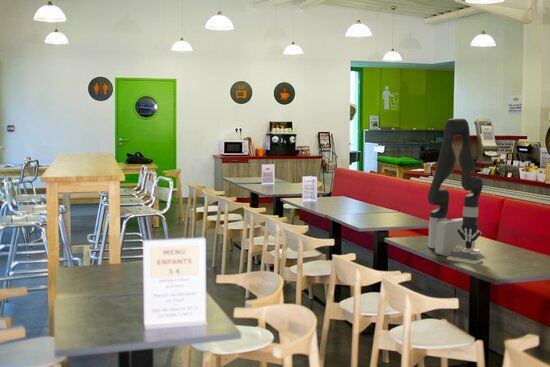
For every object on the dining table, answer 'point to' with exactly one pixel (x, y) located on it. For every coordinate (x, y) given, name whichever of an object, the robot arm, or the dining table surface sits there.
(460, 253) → the switch unit
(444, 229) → the rounded white slab
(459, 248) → the rocker
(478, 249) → the rocker
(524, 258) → the dining table surface
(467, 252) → the rocker
